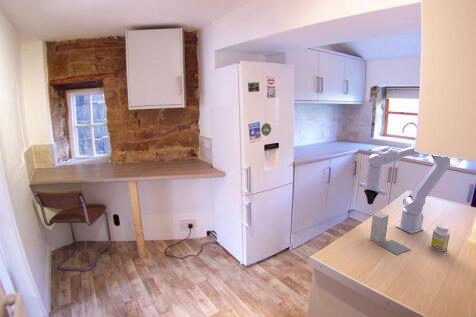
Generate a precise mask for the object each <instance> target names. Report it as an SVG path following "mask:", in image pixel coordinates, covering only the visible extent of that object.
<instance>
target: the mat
mask: <svg viewBox="0 0 476 317" xmlns="http://www.w3.org/2000/svg"><path fill="white" fill-rule="evenodd" d="M377 246H379V247H381V248H384V249H385V250H386V251H388V252H390V253H392V254H393V255H396V256H399V255H401V254H403V253H407V252H409V251H411V250H412V249H411V248H409V247H407V246H406V245H403V244H401V243H400V242H397V241H395V240H394V239H390V240H387V241H384V242H382V243H381V242H380V243H378V245H377Z"/></svg>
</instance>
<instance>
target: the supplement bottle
mask: <svg viewBox="0 0 476 317" xmlns="http://www.w3.org/2000/svg"><path fill="white" fill-rule="evenodd" d="M450 233H451V232H450V231H449V226H447V225H444V224H437V225H436V228H434V229H433V232H432V237H431V243H430V247H431V248H432V249H434V250H435V251H439V252H446V251H448V245H449V240H450V236H451V234H450Z"/></svg>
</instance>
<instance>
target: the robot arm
mask: <svg viewBox="0 0 476 317" xmlns="http://www.w3.org/2000/svg"><path fill="white" fill-rule="evenodd" d="M414 146H415V145H413V146H409V147H408V148H404V149H401V150H397V149H393V148H389V149H388V150H387V151H384V152H381V151H380V152H378V153H372V154H371V155H370V156H369V157H368V159H367V160H368V168H367V174H366V175H367V176H366V183H365V182H358V187H361V188H364V190H363V193H364V194H365V197H366V201H367V205H370V206H371V205H373V204H374V202H375V200H376V198H377V197H378V196H379V194H380V195H382V196H383V197H384V196H386V195H387V192H388V191H387V190H385V189H383V188H381V187H380V181H381V173H382V166H383V165H388V164H392V163H395V162H399V161H400V160H401V159H402V158H405V157H410V156H414V155H419V154H423V153H418V152H415V151H414ZM423 155H424V154H423ZM425 155H426V156H431V159H432V160H433V165H432V167H431V168H430V169H429V170H428V172H427V173H426V175H425V176H424V177H423V178H422V180H421V181H420V183H418V185H417V186H416V188H415V190H414V191H412V192H410V193H409V195H407V196H405V197H404V198H403V200H402V204H403V205H404V207H403V208H402V212H401V218H400V223H399V224H397V225H396V226H395V227H396V228H398V229H400V230H402V231H405V232H407V233H409V234H412V235H413V234H415V233H418V232H421V231H423V230H424V227H423V222H424V214H423V213H422V212H423V208H424V205H425V204H426V199H427V197H428V195H429V194H430V193H431V192H432V190H433V189H434V187H435V186H436V185H437V184H438V182H439V181H440V180H441V178H442V177H443V176H444V175H445V173H446V172H447V170H448V169H449V168H450V167H451V157H450V158H448V157H441V156H433V155H429V154H425Z"/></svg>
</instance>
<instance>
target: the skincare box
mask: <svg viewBox="0 0 476 317" xmlns="http://www.w3.org/2000/svg"><path fill="white" fill-rule="evenodd" d="M371 218H372V219H371V228H370V236H369V239H370V240H371V241H372V242H373V241H374V243H375V242H376V243H378V244H380V243H381V242H382V243H383V241H384V242H385V240H386V239H387V233H388V232H387V230H388V224H389V222H388V221H389V214H387V213H384V212H381V211H379V212H376V213H374V214H373V215H372V217H371Z"/></svg>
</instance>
